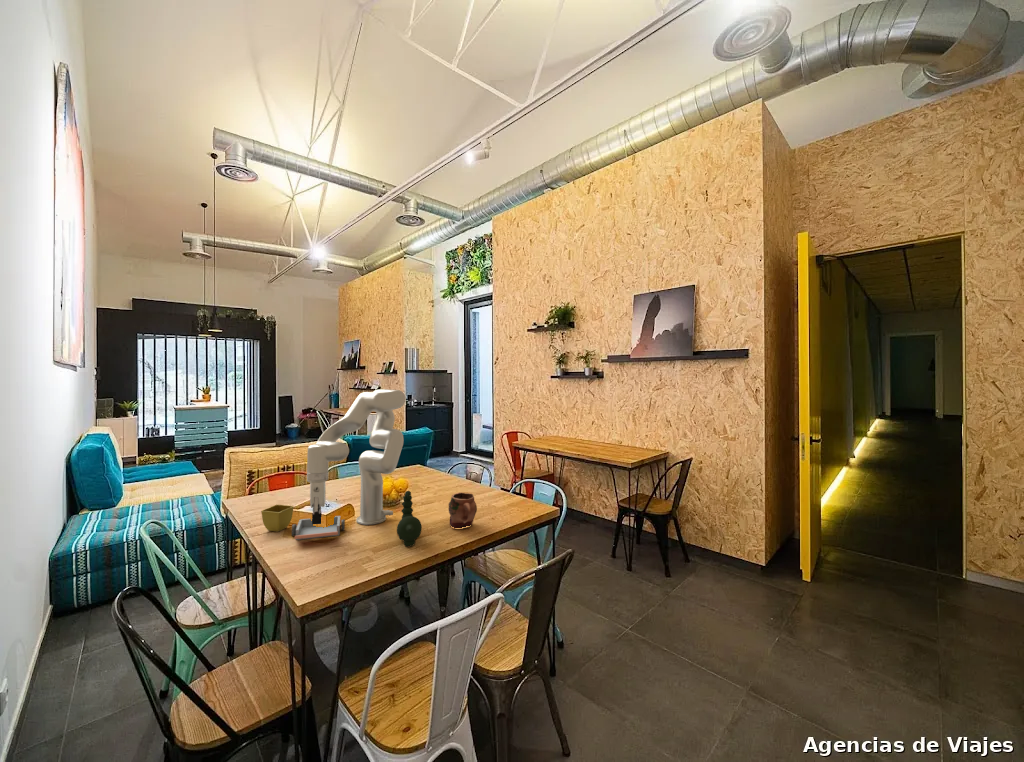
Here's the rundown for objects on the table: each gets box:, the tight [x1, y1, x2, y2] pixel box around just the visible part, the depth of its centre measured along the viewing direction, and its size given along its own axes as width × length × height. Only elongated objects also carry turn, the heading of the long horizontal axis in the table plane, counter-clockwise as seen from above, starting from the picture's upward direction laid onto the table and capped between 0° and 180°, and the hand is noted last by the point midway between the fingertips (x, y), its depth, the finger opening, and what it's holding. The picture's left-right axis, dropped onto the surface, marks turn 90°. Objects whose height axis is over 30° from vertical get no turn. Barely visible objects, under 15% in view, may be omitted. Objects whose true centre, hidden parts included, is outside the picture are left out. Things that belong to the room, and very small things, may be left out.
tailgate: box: [294, 531, 340, 540], centre depth 166 cm, size 1×16×8 cm
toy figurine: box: [396, 490, 423, 547], centre depth 169 cm, size 9×19×25 cm
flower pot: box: [260, 504, 294, 532], centre depth 178 cm, size 9×9×9 cm
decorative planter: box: [448, 492, 478, 528], centre depth 185 cm, size 20×12×14 cm, turn 29°
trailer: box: [291, 515, 346, 541], centre depth 177 cm, size 16×20×4 cm
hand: (316, 523), depth 164 cm, fingers closed
